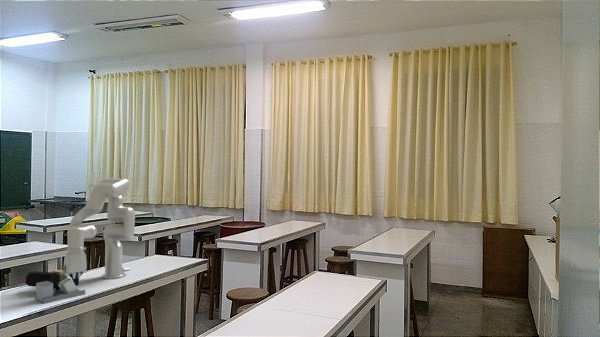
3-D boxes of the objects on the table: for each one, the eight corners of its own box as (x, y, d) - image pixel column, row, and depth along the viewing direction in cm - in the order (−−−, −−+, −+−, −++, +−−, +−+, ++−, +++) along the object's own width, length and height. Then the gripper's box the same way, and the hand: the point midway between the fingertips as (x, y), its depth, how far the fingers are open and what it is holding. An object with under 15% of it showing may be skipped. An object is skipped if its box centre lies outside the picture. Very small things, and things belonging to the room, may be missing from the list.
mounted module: (47, 295, 211) (47, 280, 211) (53, 298, 207) (53, 283, 207) (35, 298, 207) (36, 283, 207) (41, 300, 203) (42, 285, 203)
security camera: (54, 294, 216) (54, 275, 216) (24, 292, 220) (24, 273, 220) (64, 291, 223) (64, 272, 223) (35, 288, 226) (35, 270, 227)
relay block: (60, 281, 242) (60, 269, 242) (67, 282, 240) (67, 270, 240) (51, 283, 238) (52, 271, 238) (59, 284, 235) (59, 272, 235)
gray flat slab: (76, 290, 224) (76, 286, 224) (85, 294, 218) (85, 289, 218) (34, 299, 208) (34, 295, 208) (43, 303, 202) (43, 299, 202)
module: (72, 287, 220) (67, 277, 218) (77, 289, 217) (72, 279, 214) (63, 292, 217) (58, 282, 215) (69, 294, 213) (63, 284, 211)
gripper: (86, 247, 227) (86, 281, 227) (57, 252, 215) (57, 287, 215) (93, 249, 222) (93, 283, 222) (63, 253, 210) (63, 290, 210)
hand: (75, 285), depth 218 cm, fingers closed
